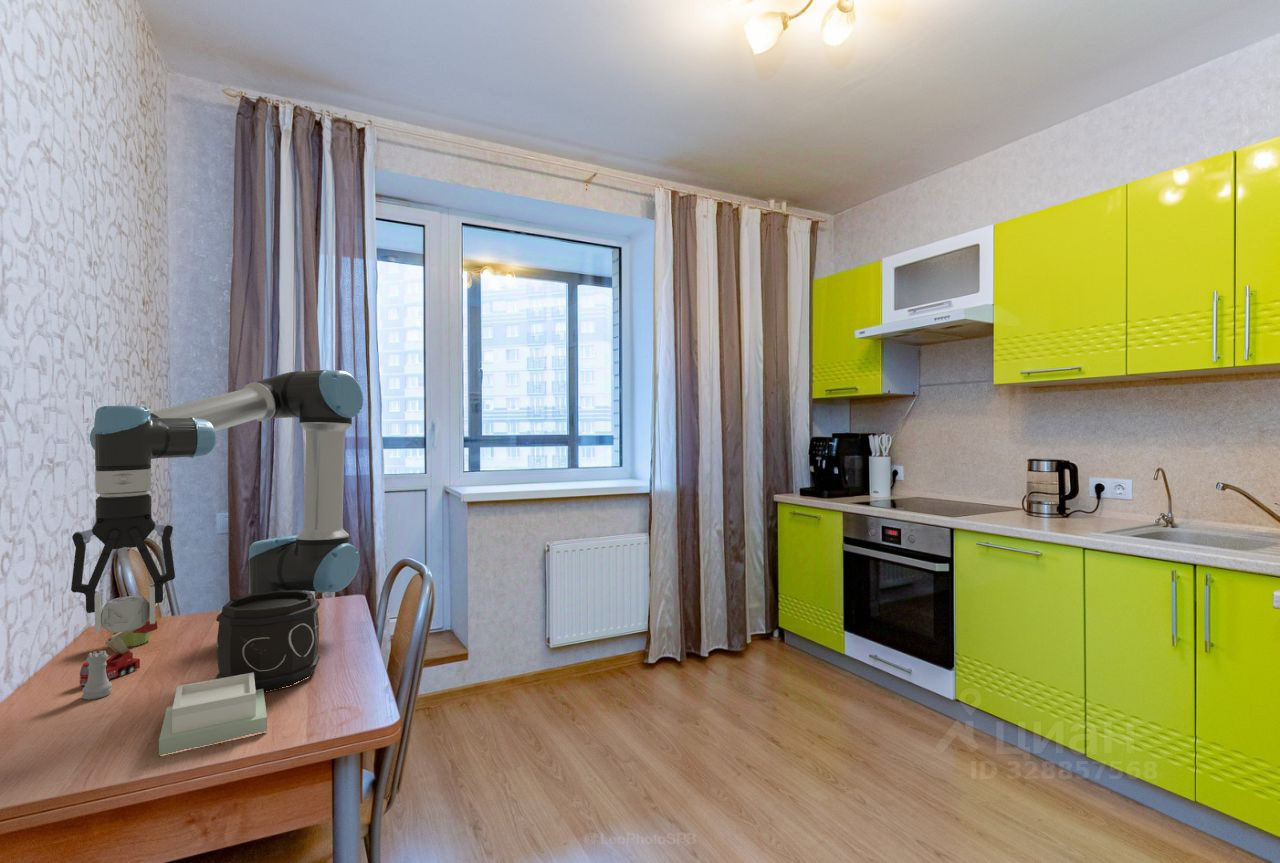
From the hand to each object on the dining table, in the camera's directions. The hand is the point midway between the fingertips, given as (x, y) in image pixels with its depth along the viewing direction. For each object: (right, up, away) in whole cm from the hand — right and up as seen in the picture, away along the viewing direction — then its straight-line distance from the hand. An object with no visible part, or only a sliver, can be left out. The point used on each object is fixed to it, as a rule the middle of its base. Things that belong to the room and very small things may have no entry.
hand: (125, 625), depth 110 cm
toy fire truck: (-16, -16, +18) cm, 29 cm away
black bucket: (+16, -16, +16) cm, 28 cm away
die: (0, -1, 0) cm, 1 cm away
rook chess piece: (-12, -16, +8) cm, 21 cm away
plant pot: (-29, -16, +38) cm, 50 cm away
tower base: (+19, -16, -5) cm, 26 cm away
